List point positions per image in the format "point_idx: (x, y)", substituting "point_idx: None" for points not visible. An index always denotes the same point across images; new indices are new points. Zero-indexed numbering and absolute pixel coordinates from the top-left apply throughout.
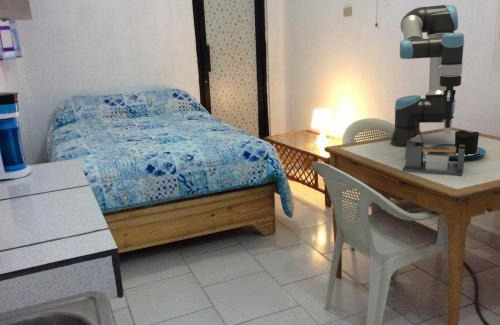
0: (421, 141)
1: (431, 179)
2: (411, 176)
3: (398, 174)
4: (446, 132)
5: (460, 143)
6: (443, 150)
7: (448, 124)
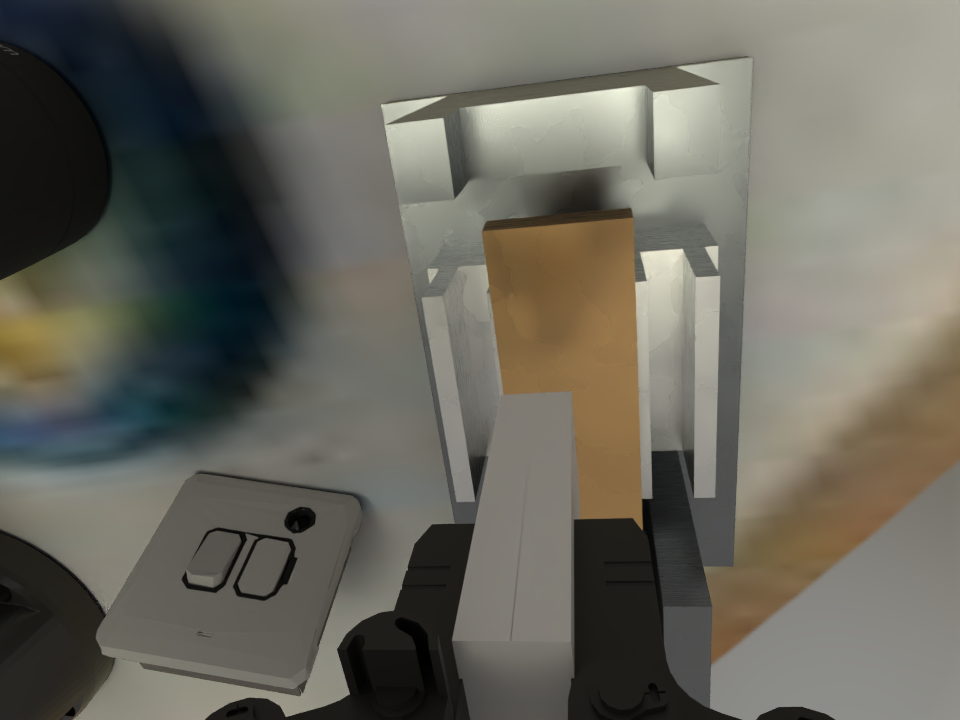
0: (148, 578)
1: (918, 319)
2: (853, 478)
3: (816, 567)
4: (577, 490)
5: (11, 227)
6: (636, 362)
7: (651, 597)
